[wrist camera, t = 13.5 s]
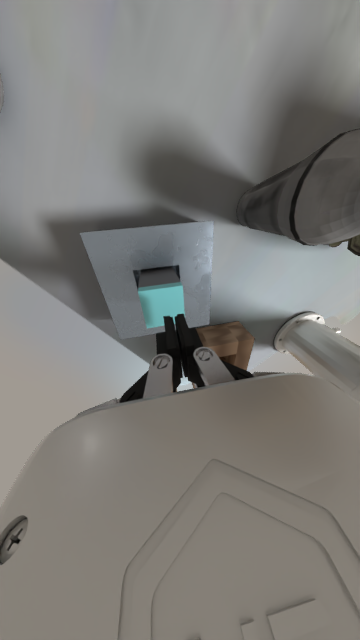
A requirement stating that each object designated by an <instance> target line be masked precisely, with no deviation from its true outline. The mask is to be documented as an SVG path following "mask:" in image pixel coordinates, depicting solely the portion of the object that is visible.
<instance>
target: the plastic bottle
mask: <svg viewBox="0 0 360 640" xmlns="http://www.w3.org/2000/svg"><path fill="white" fill-rule="evenodd" d="M3 102H4V89H3V82H2V78H1V74H0V112H1V110H2V107H3Z"/></svg>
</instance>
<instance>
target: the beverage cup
mask: <svg viewBox="0 0 360 640" xmlns="http://www.w3.org/2000/svg"><path fill="white" fill-rule="evenodd" d="M237 218H238V221H239V222H240V223H241V225H243V226H246V227H249V228H252V229H256V230H261V231H265V232H270V233H274V234H279V235H283V236H287V237H289V238H290V239H293V240H295V241H297V242H300V243H301V244H303V245H312V246H314V245H319V244H331V243H335V242H339V241H342V240H346V239H349V238H352V237H354V236H357V235H359V234H360V129H355V130H352V131H349V132H345V133H342V134H340V135H338V136H337V137H335V138H334V139H333V140H331V141H330V142H328V143H327V144H326V145H324V146H323V147H322V148H321V149H319V150H318V151H316V152H315V153H313V154H312V155H310V156H309V157H308V158H306V159H305V160H303V161H301V162H299V163H298V164H296V165H294V166H292V167H290V168H288V169H286V170H284V171H282V172H281V173H279V174H277V175H275V176H273V177H271V178H269V179H267V180H266V181H264V182H262V183H260V184H258V185H256V186H255V187H253V188H252V189H250V190H248V191H247V192H246V193H244V195H243V196H242V197H241V199H240V201H239V203H238V207H237Z"/></svg>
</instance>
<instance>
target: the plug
mask: <svg viewBox="0 0 360 640" xmlns="http://www.w3.org/2000/svg"><path fill="white" fill-rule="evenodd" d="M138 294H139V298H140V302H141V306H142V310H143V315H144V319H145V323H146V327H147V328H153V327H159V326H164V318H163V316H169V315H170V317H173V321H174V324H175V316H177V314H184V317H185V311H184V296H183V285H182V283H181V282H180V280H179V278H178V276H177V275H176V273H175V271H174V269H173V268H172V266H165V267H157V268H149V269H141V273H140V280H139V287H138Z"/></svg>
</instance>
